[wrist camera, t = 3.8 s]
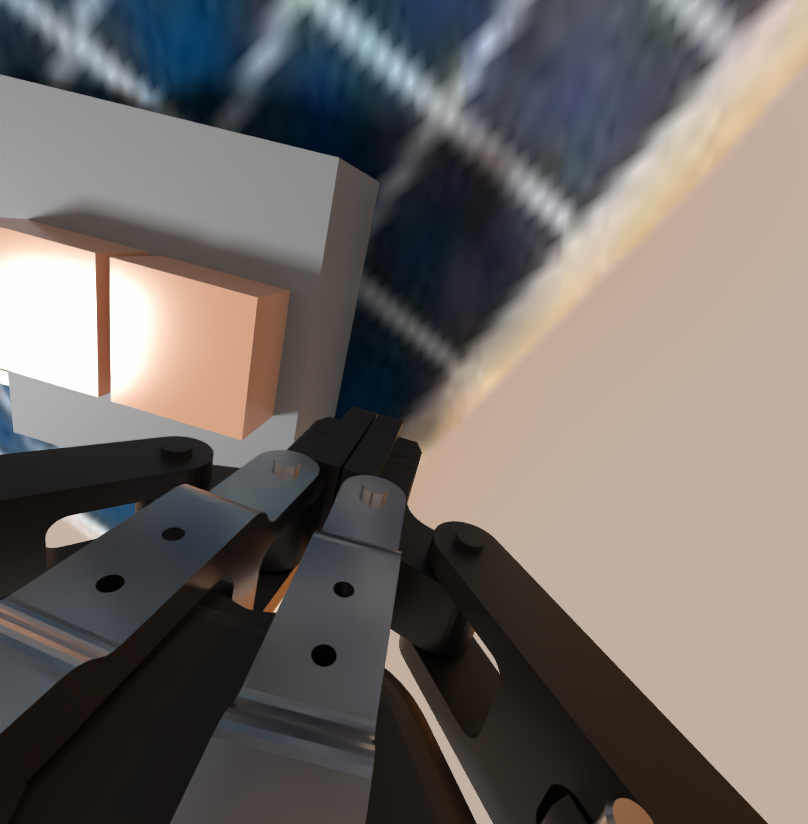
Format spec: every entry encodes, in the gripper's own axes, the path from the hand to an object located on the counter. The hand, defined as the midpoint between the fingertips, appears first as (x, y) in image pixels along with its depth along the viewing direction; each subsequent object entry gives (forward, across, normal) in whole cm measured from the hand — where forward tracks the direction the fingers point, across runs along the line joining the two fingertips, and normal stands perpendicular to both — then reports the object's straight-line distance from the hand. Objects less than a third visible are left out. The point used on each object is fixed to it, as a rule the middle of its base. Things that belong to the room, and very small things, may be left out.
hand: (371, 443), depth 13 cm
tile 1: (+4, +13, 0) cm, 13 cm away
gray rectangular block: (+10, +10, 0) cm, 15 cm away
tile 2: (+4, +7, 0) cm, 8 cm away
